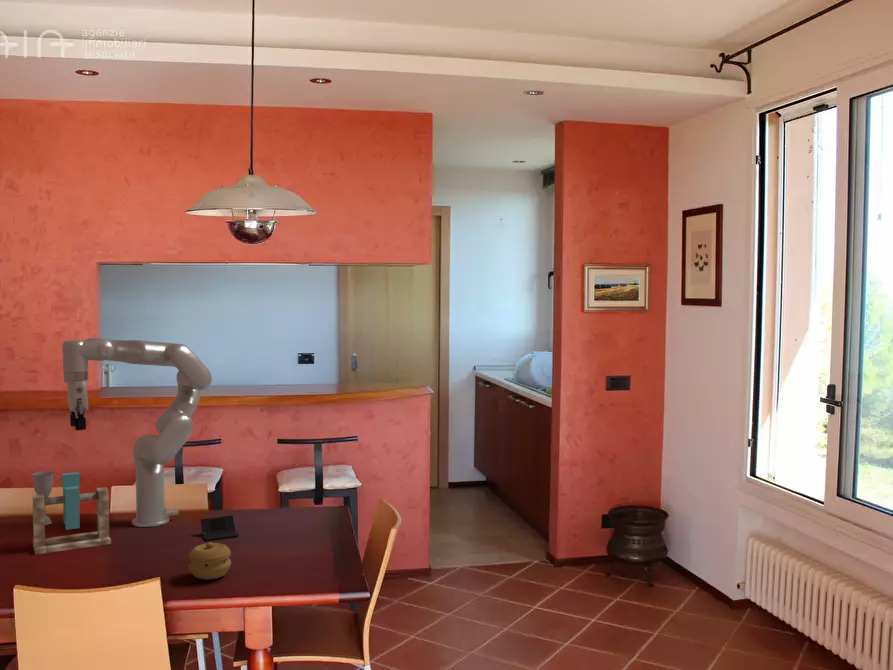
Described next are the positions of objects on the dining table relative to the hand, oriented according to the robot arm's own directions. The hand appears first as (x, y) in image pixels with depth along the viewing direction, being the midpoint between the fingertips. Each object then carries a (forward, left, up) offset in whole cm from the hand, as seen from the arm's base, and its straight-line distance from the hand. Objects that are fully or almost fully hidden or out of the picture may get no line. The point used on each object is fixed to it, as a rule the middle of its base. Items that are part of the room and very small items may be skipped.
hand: (78, 427), depth 267 cm
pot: (-28, +62, -37) cm, 78 cm away
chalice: (+9, -24, -37) cm, 45 cm away
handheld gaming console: (-41, +23, -37) cm, 60 cm away
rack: (+3, +8, -37) cm, 38 cm away
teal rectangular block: (+3, +8, -31) cm, 32 cm away
